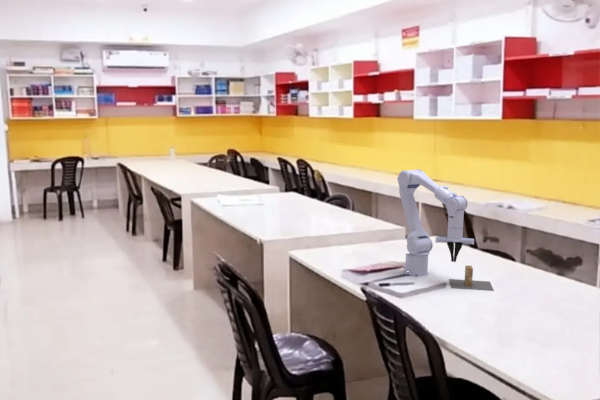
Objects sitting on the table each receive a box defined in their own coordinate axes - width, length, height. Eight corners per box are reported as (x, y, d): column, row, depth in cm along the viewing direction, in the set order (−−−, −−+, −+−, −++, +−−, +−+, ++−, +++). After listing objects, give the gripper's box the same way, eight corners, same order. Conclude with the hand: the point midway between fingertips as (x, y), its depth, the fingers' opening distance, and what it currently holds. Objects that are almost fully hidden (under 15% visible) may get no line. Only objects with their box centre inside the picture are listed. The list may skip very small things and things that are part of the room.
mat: (450, 289, 233) (450, 288, 233) (448, 279, 246) (448, 278, 246) (494, 291, 231) (494, 290, 231) (489, 282, 243) (489, 281, 243)
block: (465, 286, 236) (466, 268, 235) (464, 282, 241) (465, 265, 240) (471, 286, 236) (472, 268, 235) (470, 282, 241) (471, 265, 240)
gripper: (436, 228, 234) (435, 262, 236) (475, 230, 231) (473, 264, 233) (436, 224, 240) (434, 258, 242) (473, 226, 238) (471, 260, 240)
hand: (453, 261), depth 238 cm, fingers closed
